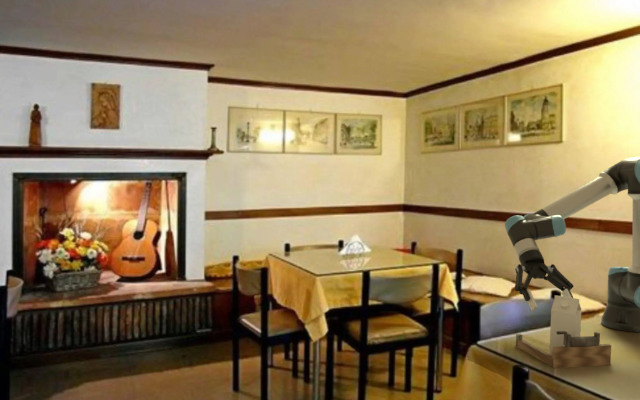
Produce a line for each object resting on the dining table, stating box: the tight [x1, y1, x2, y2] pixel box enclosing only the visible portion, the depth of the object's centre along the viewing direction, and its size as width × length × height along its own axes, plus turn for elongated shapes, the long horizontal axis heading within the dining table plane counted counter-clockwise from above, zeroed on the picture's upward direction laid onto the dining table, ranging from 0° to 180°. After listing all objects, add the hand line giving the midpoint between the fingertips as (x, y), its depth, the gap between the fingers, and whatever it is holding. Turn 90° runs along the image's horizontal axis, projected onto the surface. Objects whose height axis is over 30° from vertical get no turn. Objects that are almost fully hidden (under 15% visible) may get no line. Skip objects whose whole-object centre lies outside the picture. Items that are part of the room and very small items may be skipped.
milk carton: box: [549, 294, 582, 355], centre depth 160 cm, size 7×7×19 cm
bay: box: [515, 331, 612, 369], centre depth 162 cm, size 19×21×11 cm
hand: (553, 308), depth 164 cm, fingers open, 13 cm apart
